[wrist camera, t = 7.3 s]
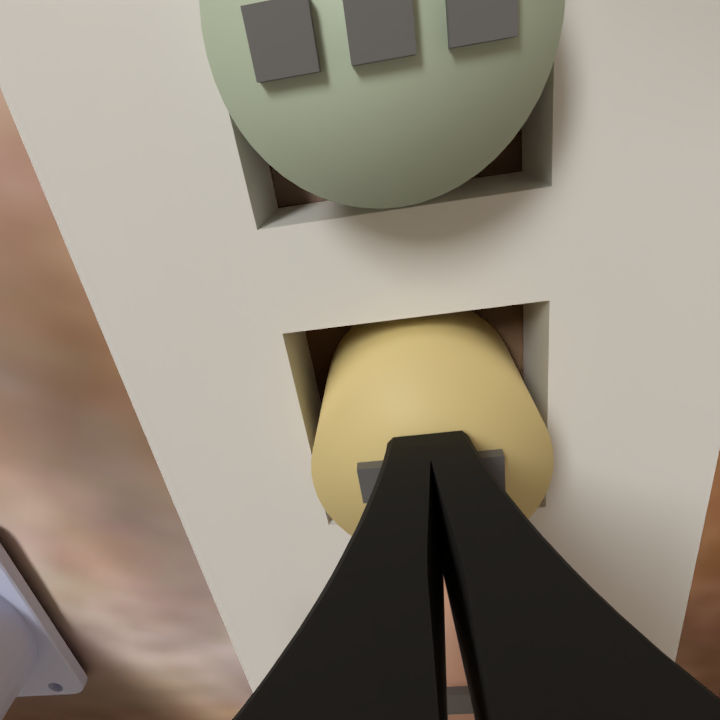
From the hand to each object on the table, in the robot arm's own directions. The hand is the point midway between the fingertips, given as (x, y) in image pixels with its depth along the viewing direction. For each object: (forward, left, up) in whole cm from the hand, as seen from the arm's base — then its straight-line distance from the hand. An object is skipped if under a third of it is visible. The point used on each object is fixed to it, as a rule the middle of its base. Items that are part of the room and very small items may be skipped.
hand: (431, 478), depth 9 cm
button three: (0, +7, -3) cm, 8 cm away
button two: (0, 0, -3) cm, 3 cm away
